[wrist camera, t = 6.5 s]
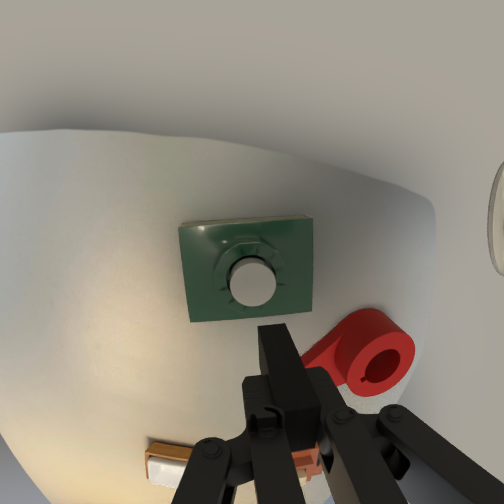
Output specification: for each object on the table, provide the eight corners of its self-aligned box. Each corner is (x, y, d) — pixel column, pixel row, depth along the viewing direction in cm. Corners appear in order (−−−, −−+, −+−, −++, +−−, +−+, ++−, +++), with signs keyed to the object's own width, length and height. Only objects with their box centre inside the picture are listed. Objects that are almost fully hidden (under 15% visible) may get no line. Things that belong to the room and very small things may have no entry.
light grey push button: (271, 255, 26) (275, 261, 24) (272, 295, 27) (276, 304, 25) (227, 258, 26) (228, 265, 24) (231, 299, 27) (232, 308, 25)
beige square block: (304, 467, 35) (306, 476, 33) (302, 477, 36) (305, 485, 34) (282, 471, 35) (284, 480, 33) (281, 480, 36) (283, 489, 34)
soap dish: (149, 464, 38) (145, 484, 33) (147, 435, 36) (142, 458, 31) (216, 473, 40) (216, 494, 35) (223, 447, 38) (224, 470, 33)
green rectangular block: (304, 214, 30) (319, 220, 26) (304, 300, 33) (317, 319, 28) (182, 223, 29) (174, 230, 24) (192, 310, 32) (188, 331, 27)
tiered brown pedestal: (323, 433, 39) (331, 454, 35) (317, 462, 42) (324, 481, 37) (252, 445, 38) (255, 467, 34) (255, 472, 41) (258, 492, 36)
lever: (379, 295, 34) (407, 316, 27) (395, 343, 36) (419, 367, 30) (258, 366, 34) (265, 400, 28) (289, 406, 37) (299, 438, 30)
